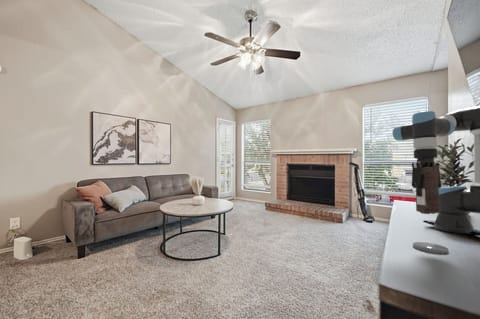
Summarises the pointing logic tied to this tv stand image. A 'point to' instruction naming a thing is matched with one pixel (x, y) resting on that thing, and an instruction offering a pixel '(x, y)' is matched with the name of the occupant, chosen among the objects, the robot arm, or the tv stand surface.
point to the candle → (430, 191)
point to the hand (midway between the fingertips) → (427, 204)
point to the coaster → (430, 248)
